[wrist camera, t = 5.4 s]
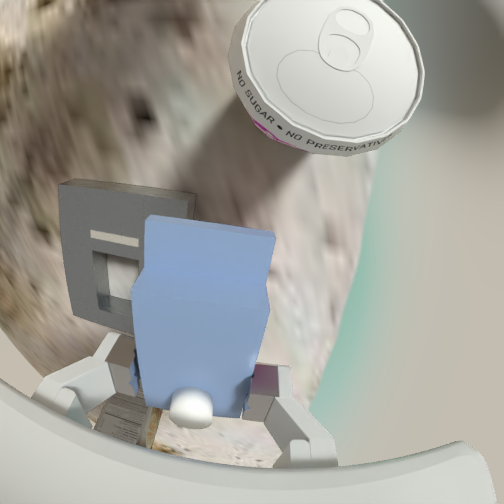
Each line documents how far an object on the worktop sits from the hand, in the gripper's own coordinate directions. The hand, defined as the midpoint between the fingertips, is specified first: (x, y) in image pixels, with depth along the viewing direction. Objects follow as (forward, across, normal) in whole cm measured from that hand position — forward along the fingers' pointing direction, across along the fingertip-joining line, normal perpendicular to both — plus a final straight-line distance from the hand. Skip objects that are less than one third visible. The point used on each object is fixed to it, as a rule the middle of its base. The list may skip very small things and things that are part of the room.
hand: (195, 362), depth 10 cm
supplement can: (+17, -3, -12) cm, 21 cm away
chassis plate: (+17, +11, +6) cm, 21 cm away
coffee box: (+18, +10, +28) cm, 34 cm away
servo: (+4, 0, -1) cm, 4 cm away
